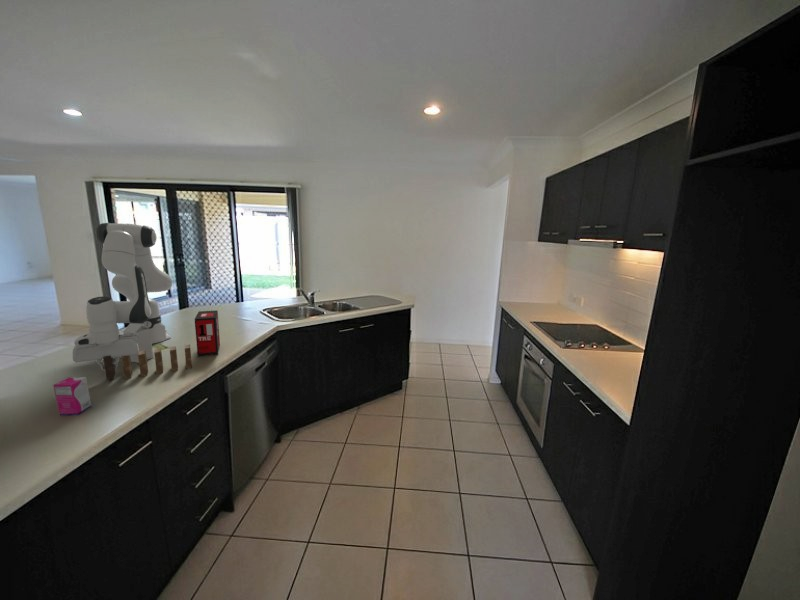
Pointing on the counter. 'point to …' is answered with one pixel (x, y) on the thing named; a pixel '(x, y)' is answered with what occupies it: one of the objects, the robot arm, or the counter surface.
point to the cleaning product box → (207, 333)
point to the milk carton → (140, 339)
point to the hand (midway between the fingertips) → (109, 367)
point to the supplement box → (72, 396)
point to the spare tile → (109, 367)
